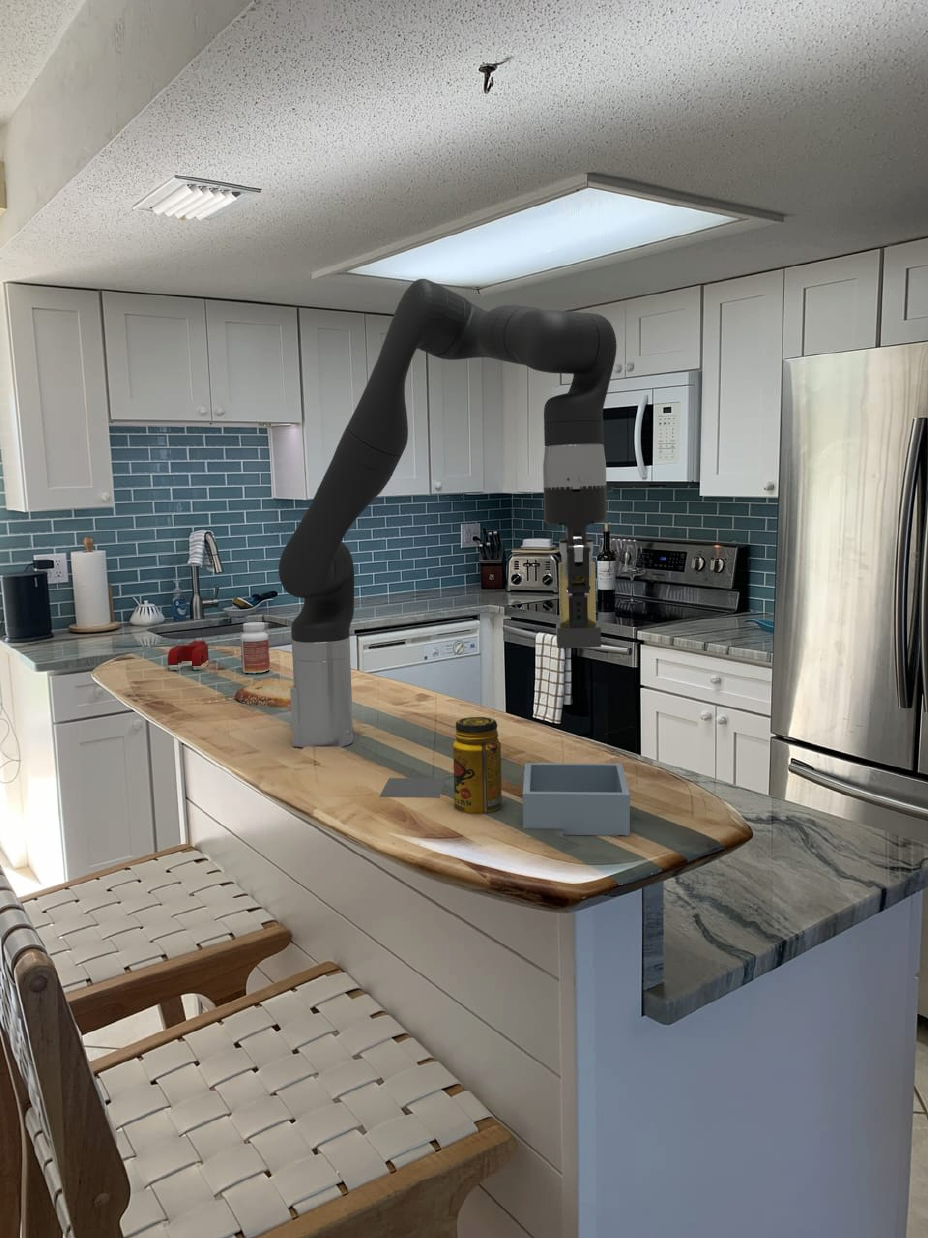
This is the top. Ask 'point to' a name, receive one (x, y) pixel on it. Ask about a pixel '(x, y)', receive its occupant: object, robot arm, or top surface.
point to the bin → (576, 798)
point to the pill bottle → (254, 648)
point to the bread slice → (267, 693)
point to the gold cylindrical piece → (565, 633)
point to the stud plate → (413, 787)
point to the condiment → (477, 766)
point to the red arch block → (189, 653)
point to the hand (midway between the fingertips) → (577, 624)
